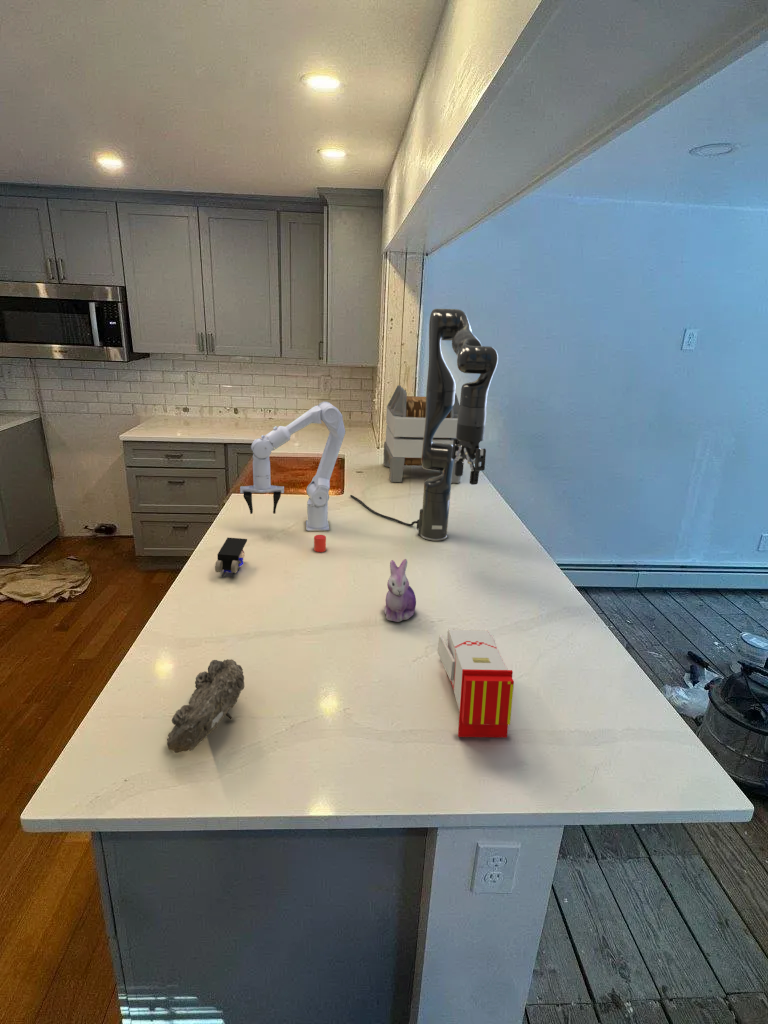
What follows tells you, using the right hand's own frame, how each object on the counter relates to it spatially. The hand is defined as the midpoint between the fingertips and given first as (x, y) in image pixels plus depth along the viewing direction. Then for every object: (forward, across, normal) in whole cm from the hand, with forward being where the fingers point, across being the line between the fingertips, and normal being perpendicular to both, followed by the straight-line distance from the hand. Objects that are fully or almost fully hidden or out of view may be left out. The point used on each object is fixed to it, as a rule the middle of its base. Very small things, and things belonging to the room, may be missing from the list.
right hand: (465, 479), depth 159 cm
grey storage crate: (+30, -106, +37) cm, 116 cm away
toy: (+31, +49, -23) cm, 62 cm away
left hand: (+23, -52, -48) cm, 74 cm away
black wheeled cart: (+30, -24, -62) cm, 73 cm away
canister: (+30, -31, -34) cm, 55 cm away
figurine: (+31, +15, -25) cm, 42 cm away
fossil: (+31, +40, -74) cm, 90 cm away
